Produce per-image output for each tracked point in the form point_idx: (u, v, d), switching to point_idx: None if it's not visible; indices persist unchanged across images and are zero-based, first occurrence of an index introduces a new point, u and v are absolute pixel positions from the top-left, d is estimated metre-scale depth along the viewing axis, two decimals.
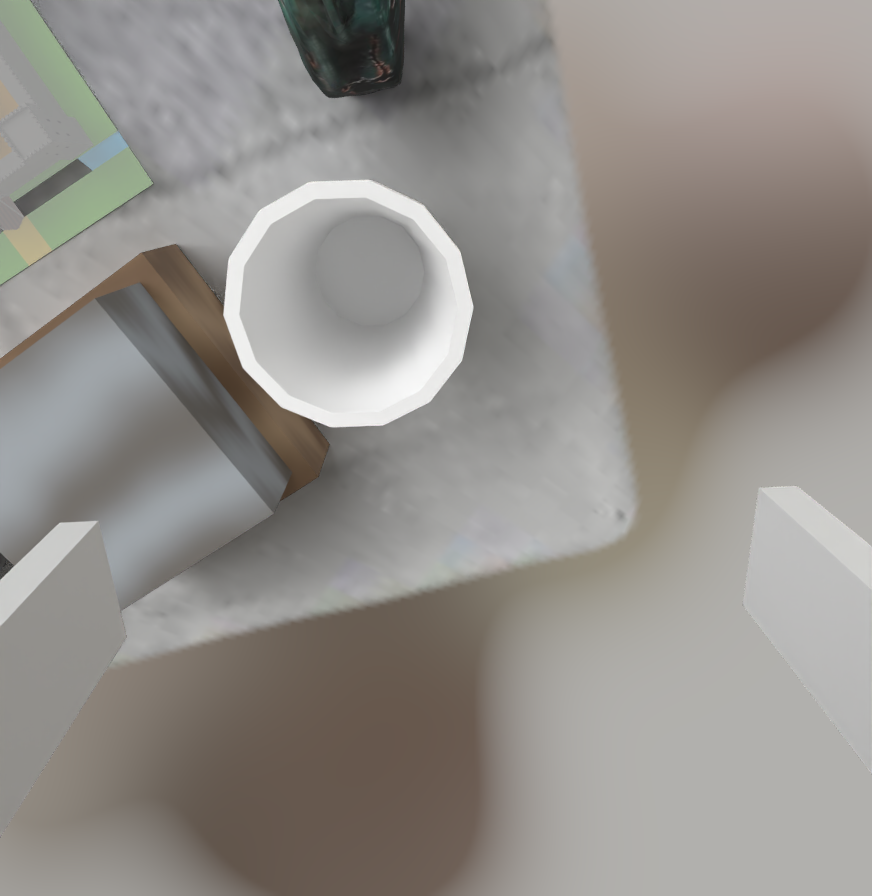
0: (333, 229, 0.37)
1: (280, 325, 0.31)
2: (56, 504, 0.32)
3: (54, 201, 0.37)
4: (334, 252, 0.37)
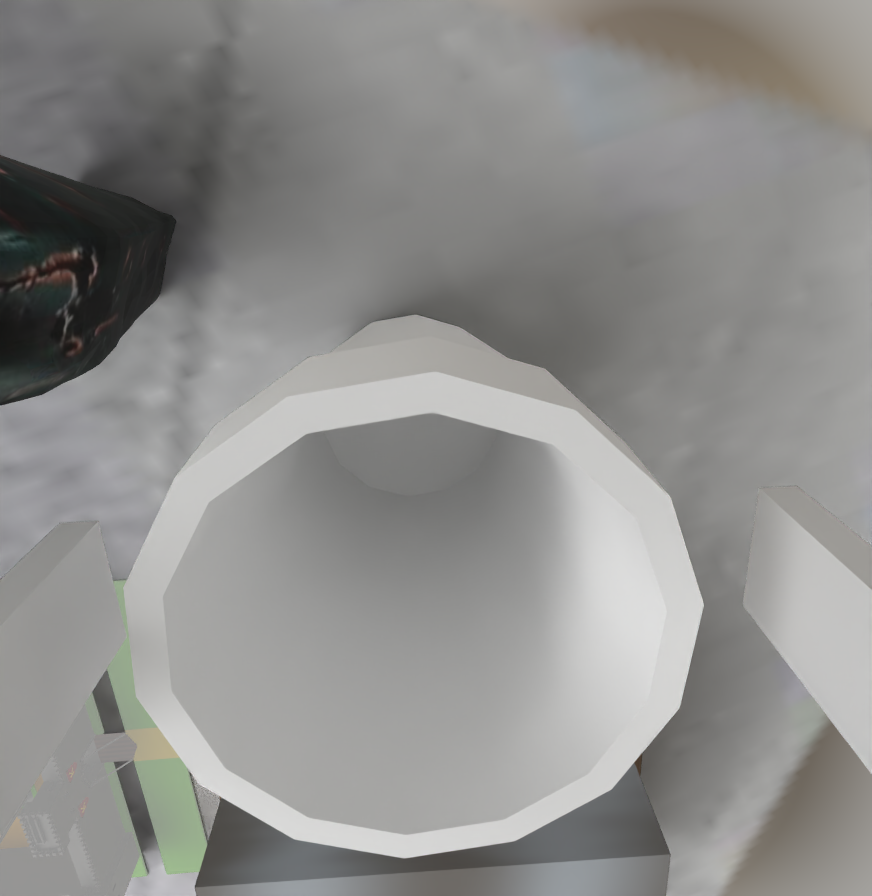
0: None
1: (389, 668, 0.17)
2: None
3: (119, 694, 0.27)
4: (356, 445, 0.23)
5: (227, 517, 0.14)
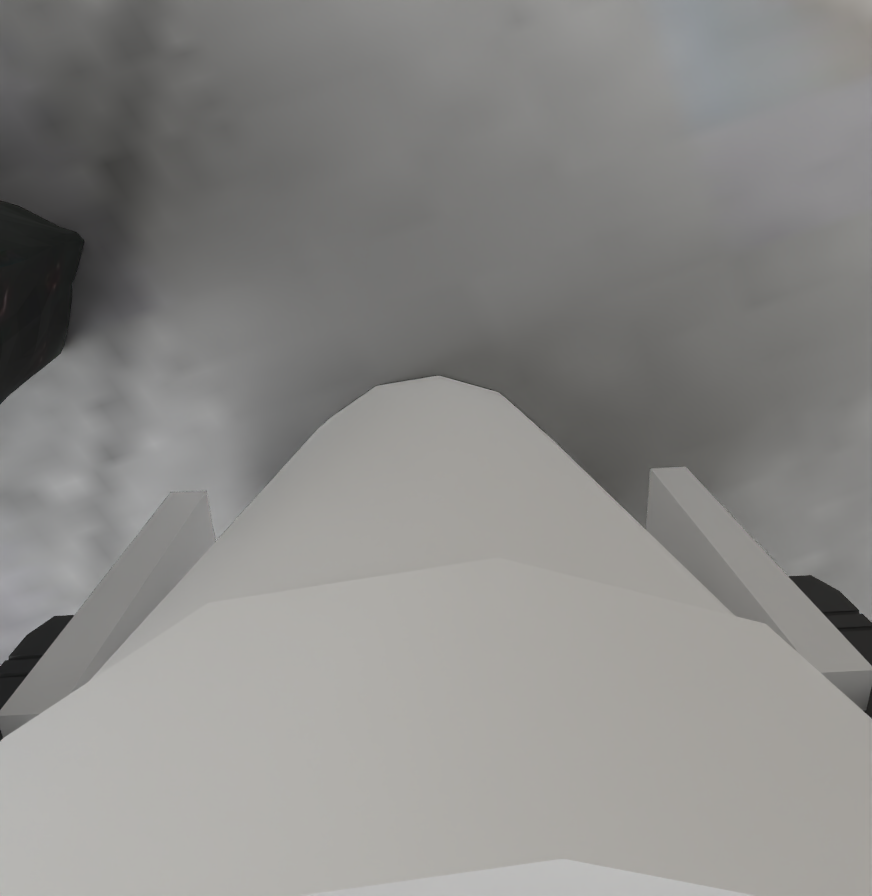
0: None
1: None
2: None
3: None
4: None
5: None
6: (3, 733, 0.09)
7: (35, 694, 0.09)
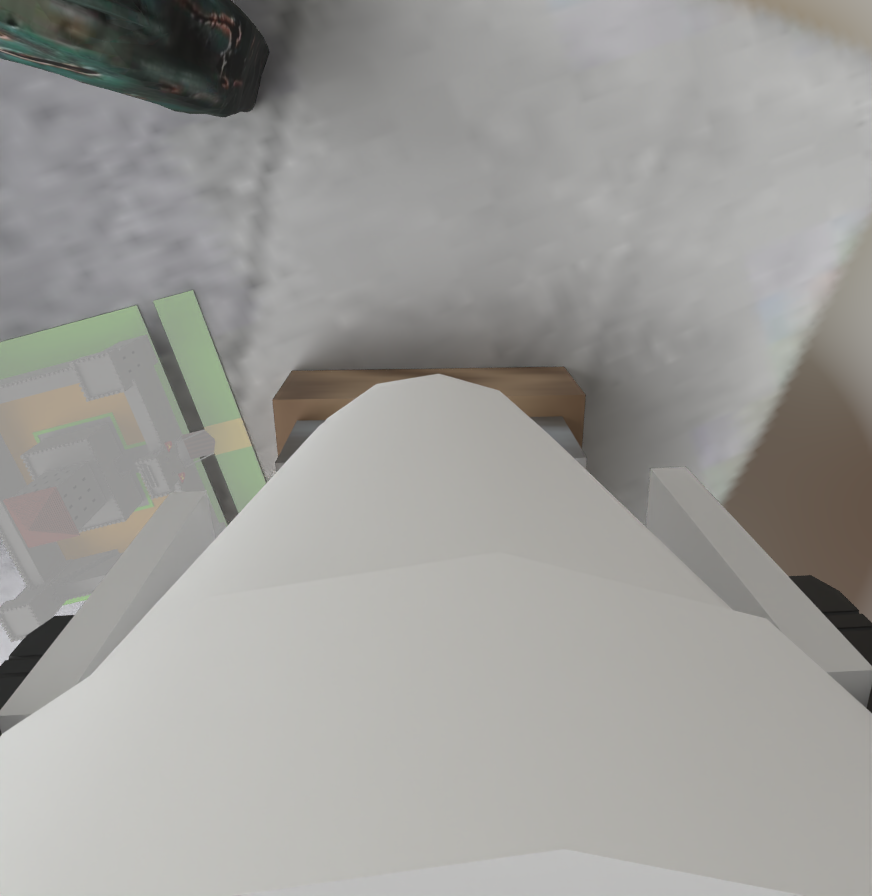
0: None
1: None
2: None
3: (195, 395, 0.36)
4: None
5: None
6: None
7: (35, 694, 0.09)
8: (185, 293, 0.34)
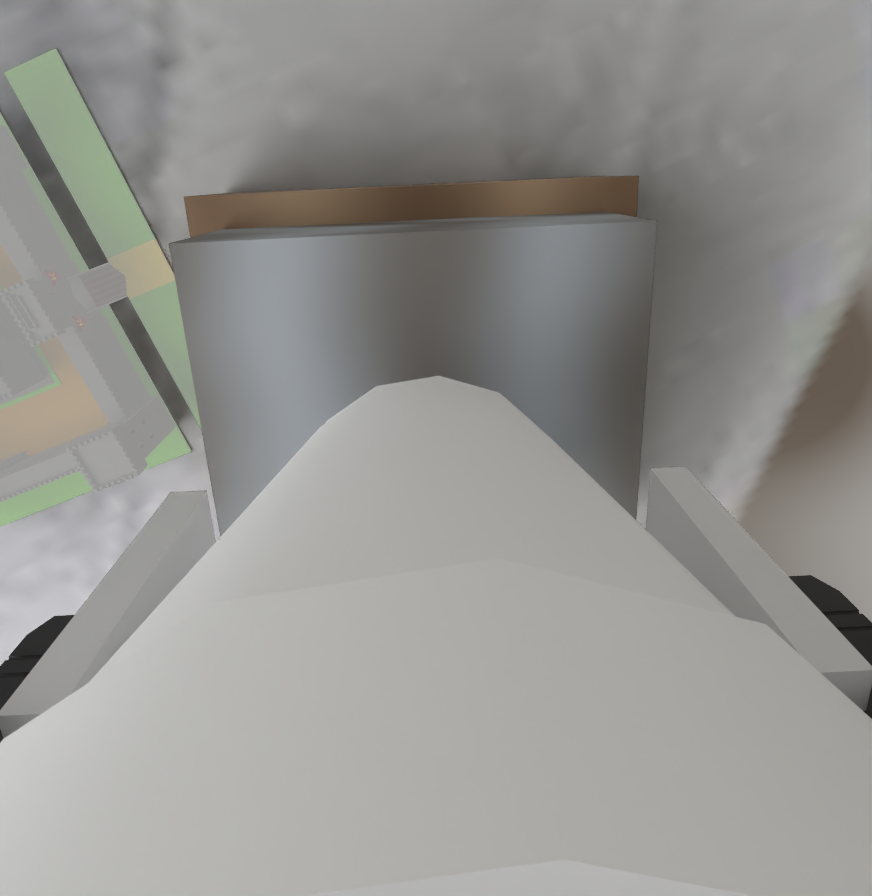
0: None
1: None
2: None
3: (87, 212, 0.26)
4: None
5: None
6: (3, 733, 0.09)
7: (35, 694, 0.09)
8: (46, 54, 0.24)
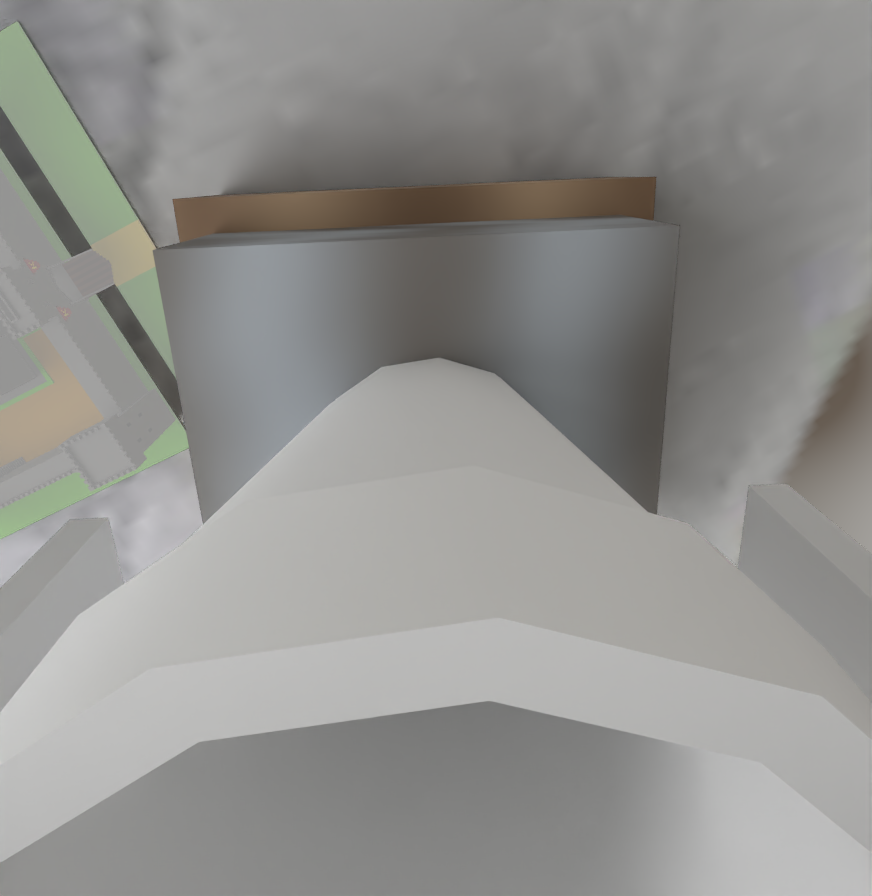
0: None
1: None
2: None
3: (64, 196, 0.24)
4: None
5: None
6: None
7: None
8: (8, 29, 0.23)
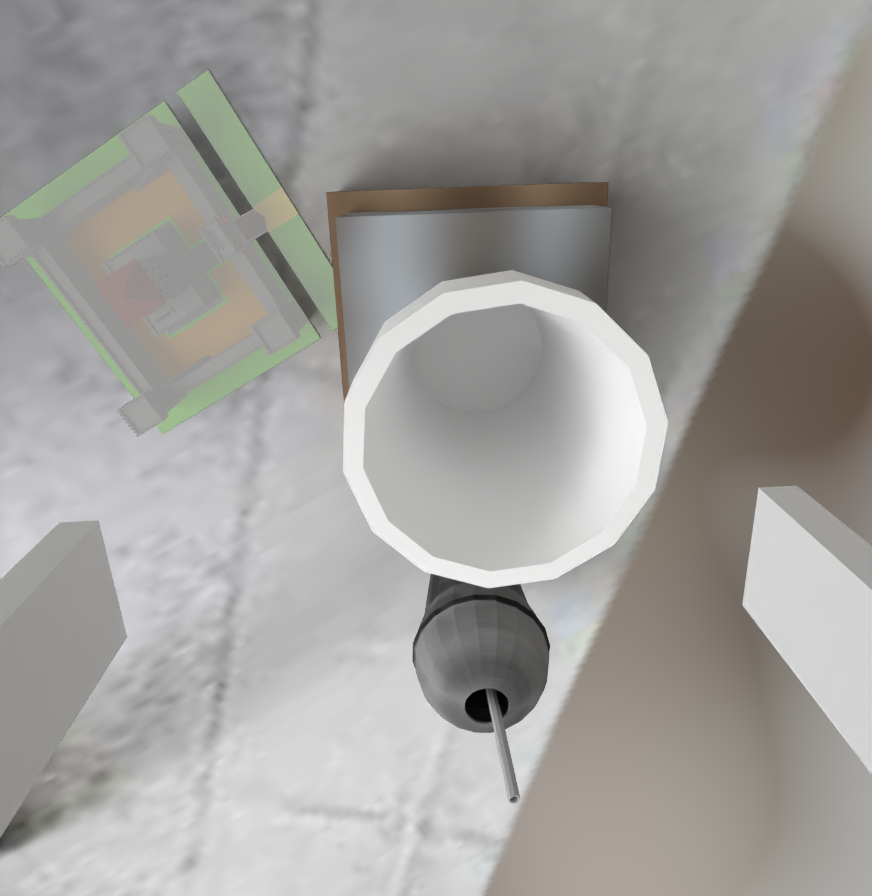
0: (414, 360, 0.32)
1: (471, 500, 0.25)
2: None
3: (236, 176, 0.39)
4: (436, 373, 0.32)
5: (381, 384, 0.23)
6: None
7: None
8: (202, 75, 0.37)
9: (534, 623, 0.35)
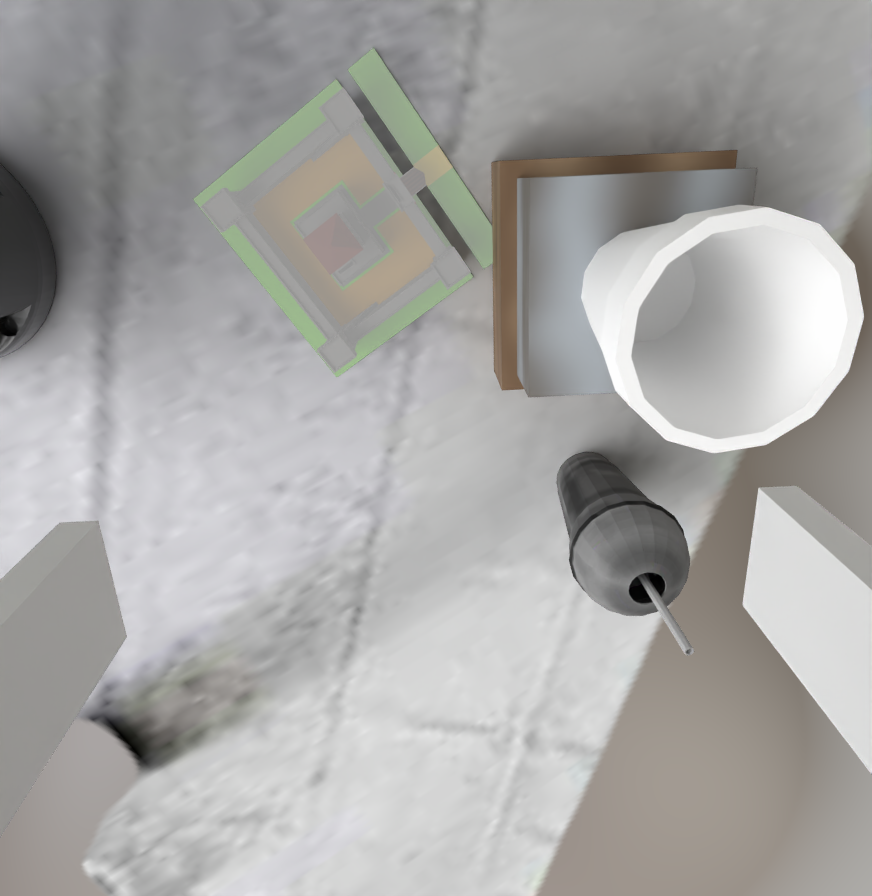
0: None
1: (673, 397, 0.32)
2: None
3: (399, 139, 0.45)
4: None
5: None
6: None
7: None
8: (369, 52, 0.43)
9: (676, 524, 0.42)
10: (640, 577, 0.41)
